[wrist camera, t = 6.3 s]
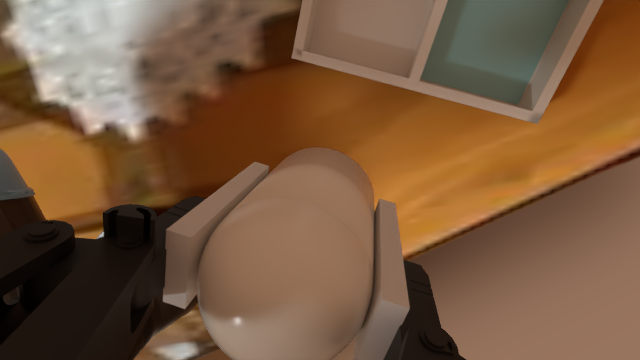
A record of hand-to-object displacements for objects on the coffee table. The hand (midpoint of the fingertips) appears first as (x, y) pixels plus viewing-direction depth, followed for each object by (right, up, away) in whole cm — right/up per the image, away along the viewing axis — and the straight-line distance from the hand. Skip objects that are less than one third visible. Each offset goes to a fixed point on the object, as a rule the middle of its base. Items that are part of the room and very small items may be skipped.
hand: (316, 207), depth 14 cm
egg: (0, 0, +1) cm, 1 cm away
